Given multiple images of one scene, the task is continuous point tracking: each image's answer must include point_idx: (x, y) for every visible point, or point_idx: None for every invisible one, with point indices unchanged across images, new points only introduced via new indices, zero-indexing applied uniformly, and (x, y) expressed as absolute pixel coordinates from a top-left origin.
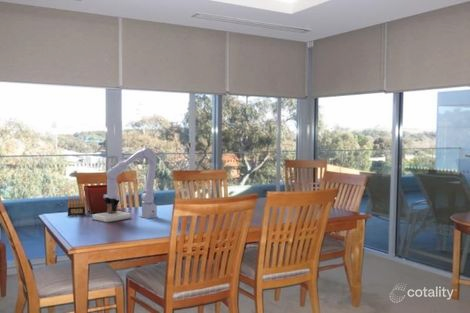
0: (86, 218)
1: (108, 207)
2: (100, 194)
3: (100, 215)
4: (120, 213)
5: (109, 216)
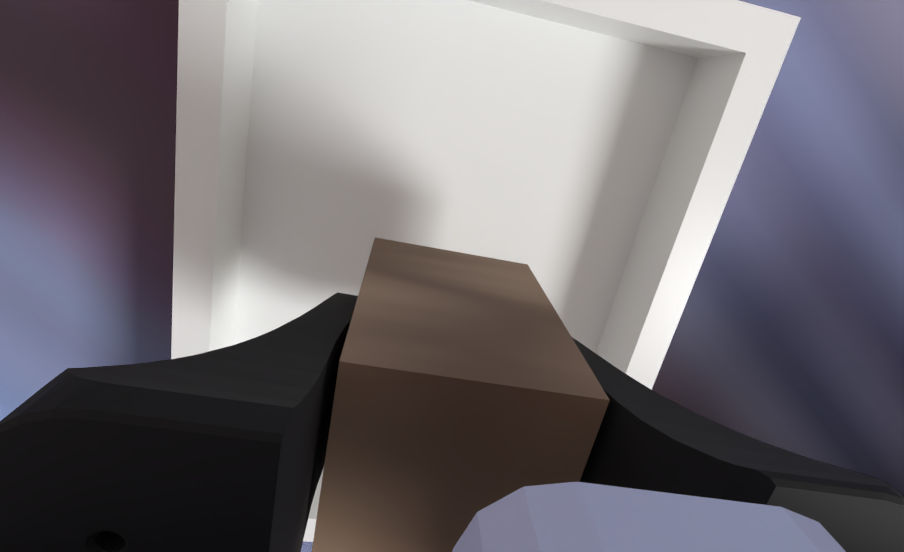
0: (898, 45)
1: (507, 321)
2: None
3: (666, 200)
4: None
5: None
